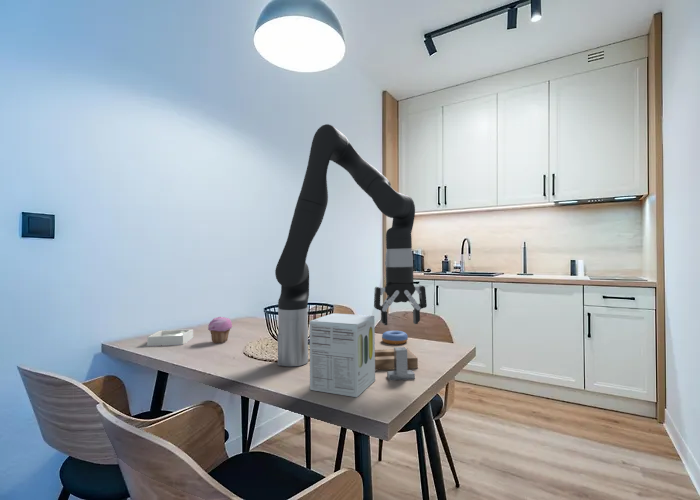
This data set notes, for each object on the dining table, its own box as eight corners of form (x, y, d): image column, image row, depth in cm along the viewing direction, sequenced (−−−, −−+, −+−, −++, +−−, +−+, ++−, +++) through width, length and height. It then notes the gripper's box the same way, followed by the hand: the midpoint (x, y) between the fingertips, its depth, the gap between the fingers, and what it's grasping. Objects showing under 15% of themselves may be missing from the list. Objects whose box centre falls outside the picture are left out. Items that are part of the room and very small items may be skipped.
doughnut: (407, 345, 135) (406, 332, 135) (380, 345, 137) (380, 333, 137) (408, 341, 144) (408, 329, 145) (383, 341, 146) (383, 330, 147)
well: (350, 371, 106) (350, 360, 106) (347, 360, 117) (346, 350, 117) (417, 368, 108) (417, 357, 108) (407, 357, 119) (407, 348, 119)
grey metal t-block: (389, 380, 98) (389, 350, 98) (387, 376, 101) (386, 347, 101) (414, 379, 99) (414, 349, 99) (411, 375, 102) (411, 346, 102)
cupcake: (215, 339, 148) (215, 314, 149) (235, 339, 147) (235, 315, 147) (204, 344, 140) (204, 318, 140) (225, 345, 138) (225, 319, 139)
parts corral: (147, 346, 139) (147, 336, 139) (160, 338, 150) (160, 330, 151) (183, 344, 140) (183, 335, 140) (193, 337, 152) (193, 329, 152)
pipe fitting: (158, 345, 143) (170, 345, 140) (157, 335, 143) (170, 334, 140) (174, 340, 150) (187, 340, 148) (173, 331, 150) (186, 330, 148)
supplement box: (357, 398, 86) (356, 324, 86) (308, 390, 91) (308, 320, 91) (376, 380, 98) (375, 315, 98) (332, 374, 103) (331, 312, 103)
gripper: (376, 266, 96) (377, 328, 95) (428, 265, 97) (430, 325, 97) (371, 265, 103) (372, 322, 103) (420, 264, 105) (421, 320, 105)
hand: (400, 324), depth 100 cm, fingers open, 8 cm apart
